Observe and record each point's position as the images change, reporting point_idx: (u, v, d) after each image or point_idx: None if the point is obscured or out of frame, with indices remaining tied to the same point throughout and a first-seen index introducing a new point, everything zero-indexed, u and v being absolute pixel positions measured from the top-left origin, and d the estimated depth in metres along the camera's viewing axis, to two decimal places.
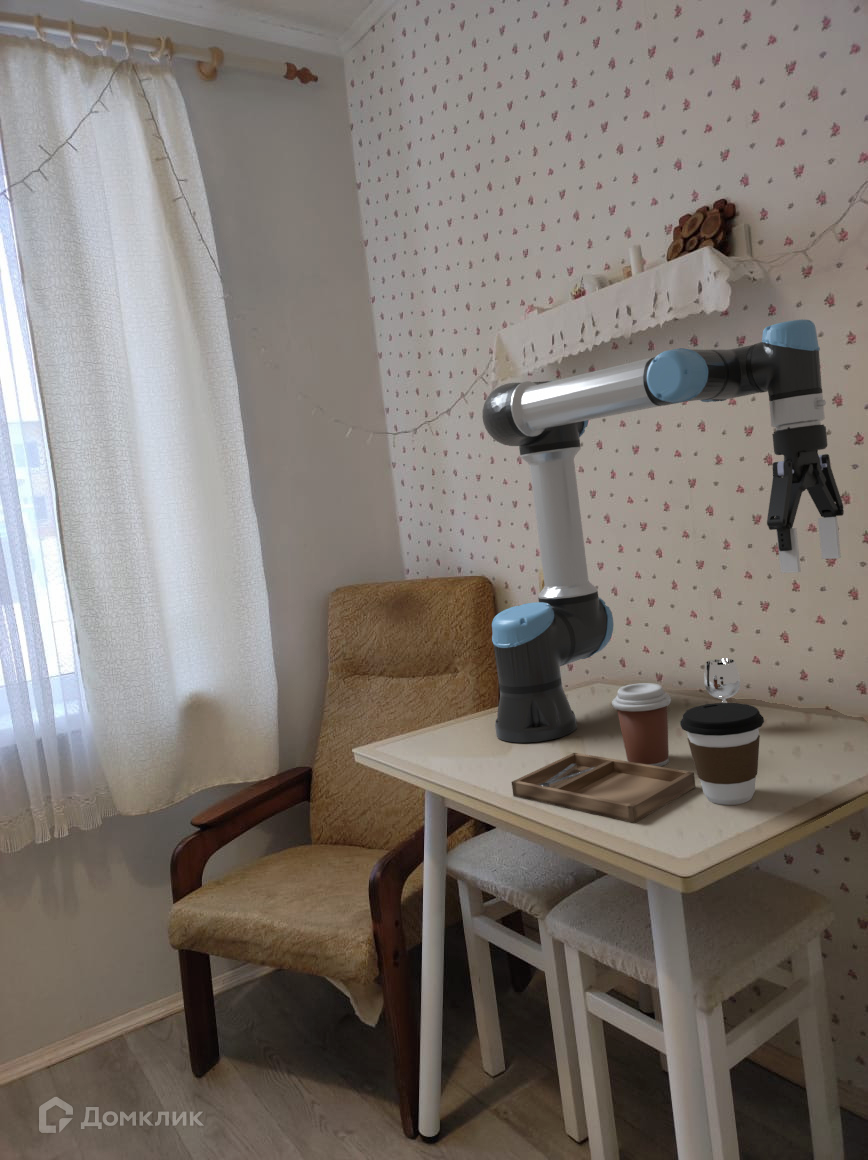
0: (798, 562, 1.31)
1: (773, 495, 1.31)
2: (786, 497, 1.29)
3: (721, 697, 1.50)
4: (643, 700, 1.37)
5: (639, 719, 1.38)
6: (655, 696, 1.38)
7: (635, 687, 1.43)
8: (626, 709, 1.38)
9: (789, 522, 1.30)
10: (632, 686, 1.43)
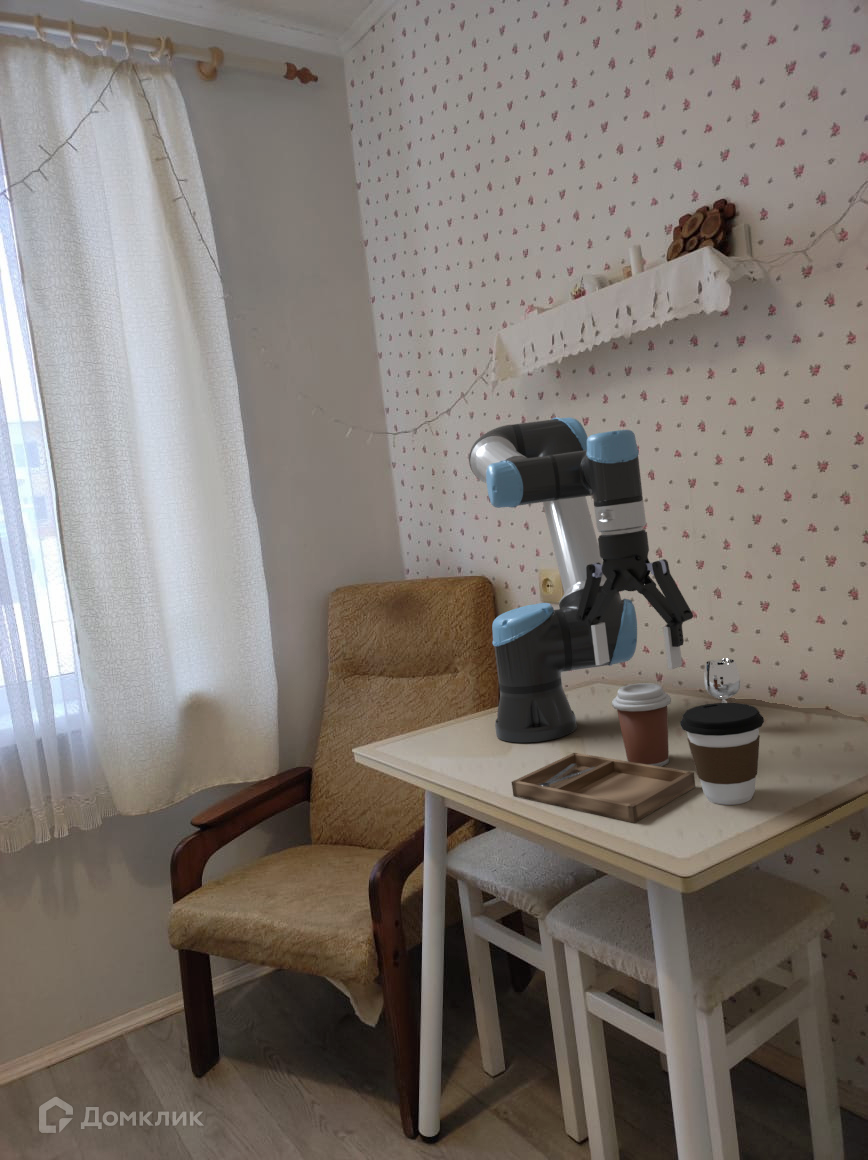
0: (596, 656, 1.44)
1: None
2: (582, 597, 1.45)
3: (721, 697, 1.50)
4: (643, 700, 1.37)
5: (639, 719, 1.38)
6: (655, 696, 1.38)
7: (635, 687, 1.43)
8: (626, 709, 1.38)
9: (586, 619, 1.45)
10: (632, 686, 1.43)
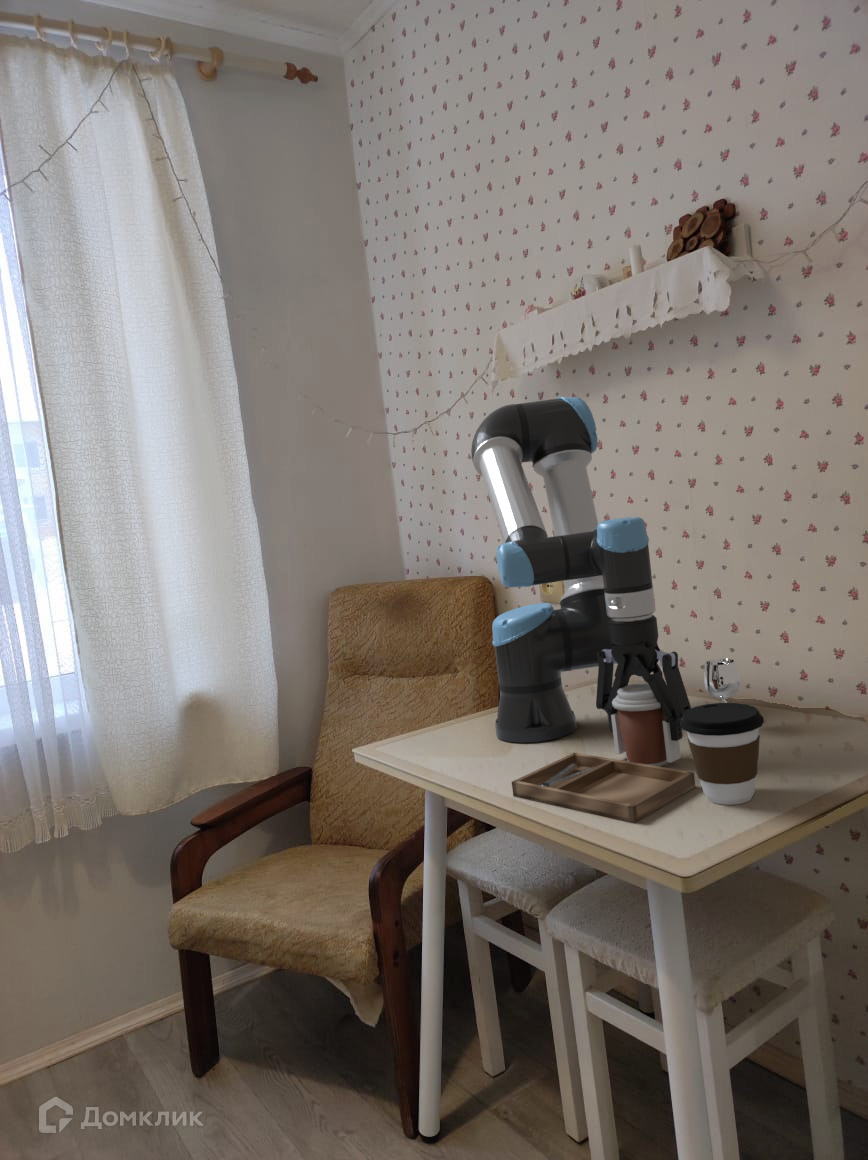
0: (616, 745, 1.45)
1: None
2: (598, 684, 1.45)
3: (721, 697, 1.50)
4: (643, 700, 1.37)
5: (639, 719, 1.38)
6: None
7: (635, 687, 1.43)
8: (626, 709, 1.38)
9: (606, 708, 1.45)
10: (632, 686, 1.43)
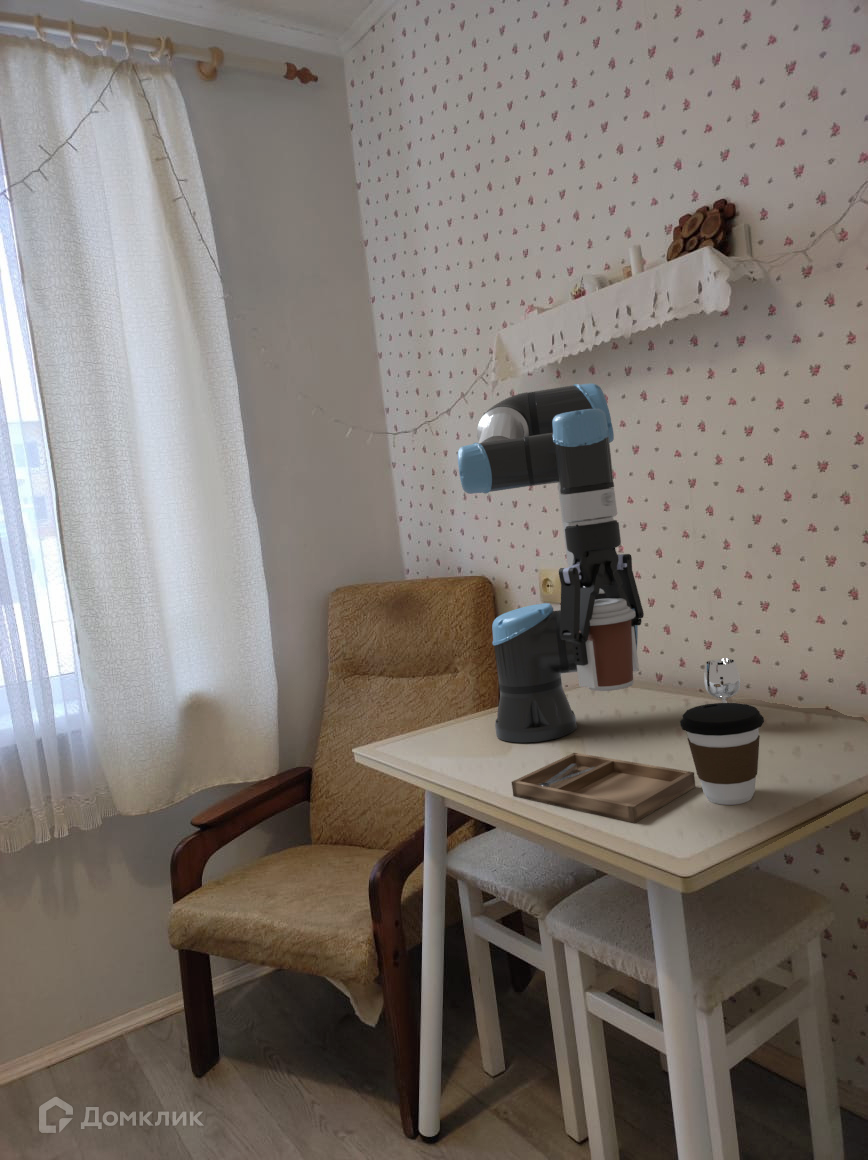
0: (595, 677, 1.23)
1: (563, 606, 1.22)
2: (574, 609, 1.20)
3: (721, 697, 1.50)
4: (627, 606, 1.26)
5: (630, 627, 1.25)
6: None
7: None
8: (630, 617, 1.23)
9: (583, 636, 1.22)
10: None
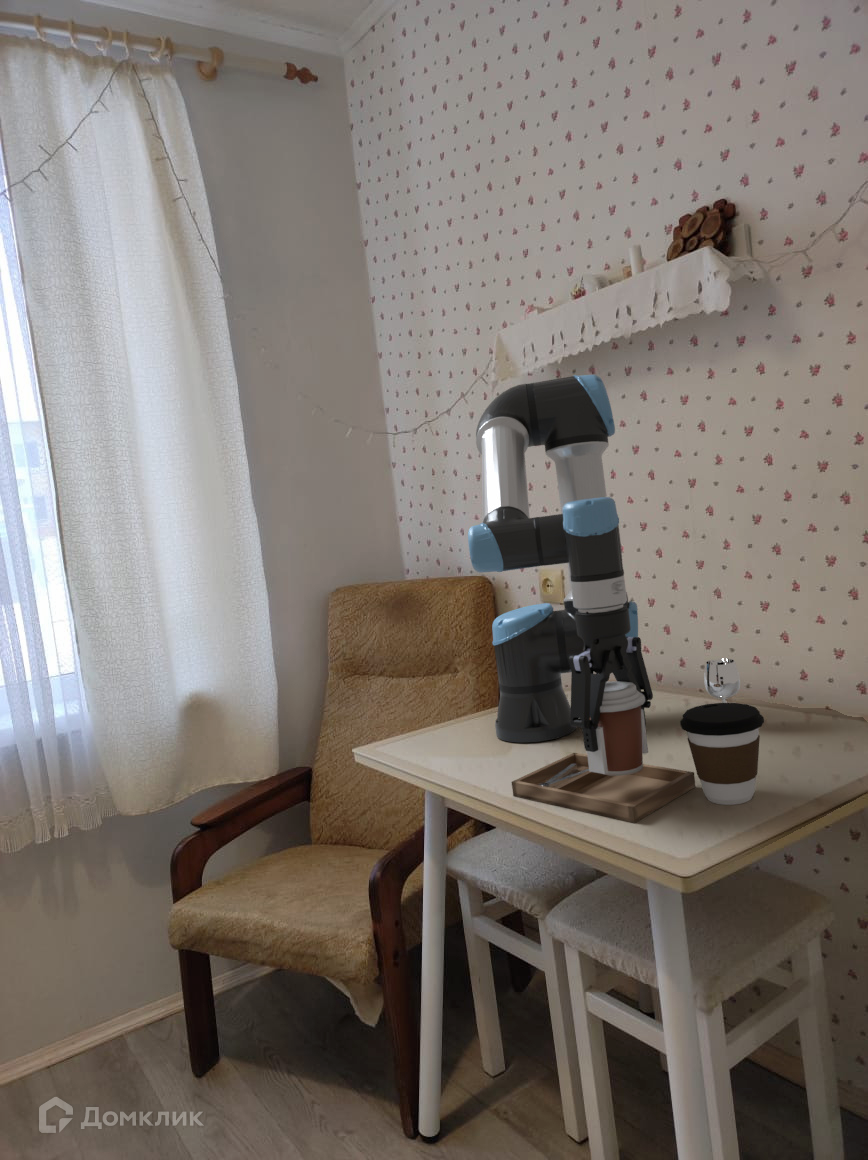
0: (605, 763, 1.24)
1: (573, 693, 1.23)
2: (585, 698, 1.22)
3: (721, 697, 1.50)
4: (637, 691, 1.27)
5: (640, 712, 1.26)
6: None
7: None
8: (640, 703, 1.24)
9: (593, 723, 1.23)
10: None
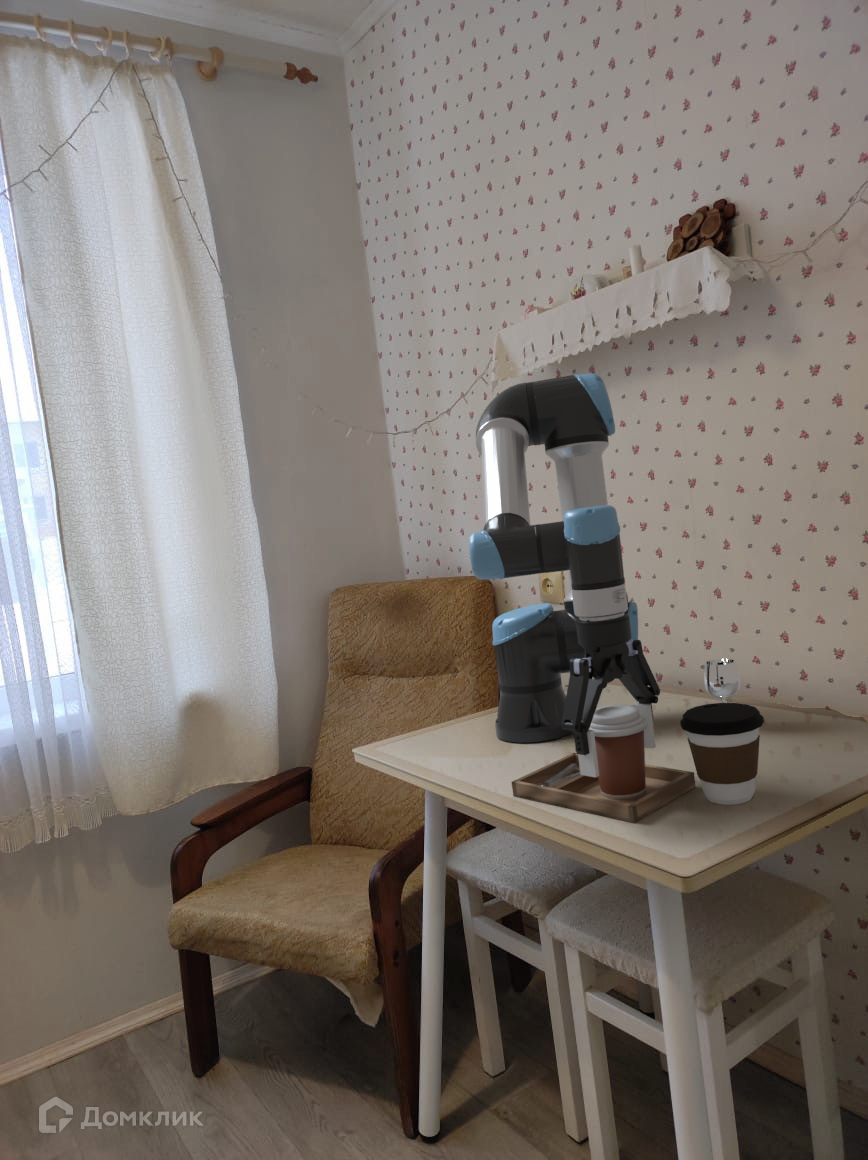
0: (596, 766, 1.23)
1: (568, 695, 1.22)
2: (580, 700, 1.21)
3: (721, 697, 1.50)
4: (640, 715, 1.27)
5: (643, 737, 1.27)
6: None
7: (600, 715, 1.28)
8: (642, 729, 1.25)
9: (584, 726, 1.21)
10: None
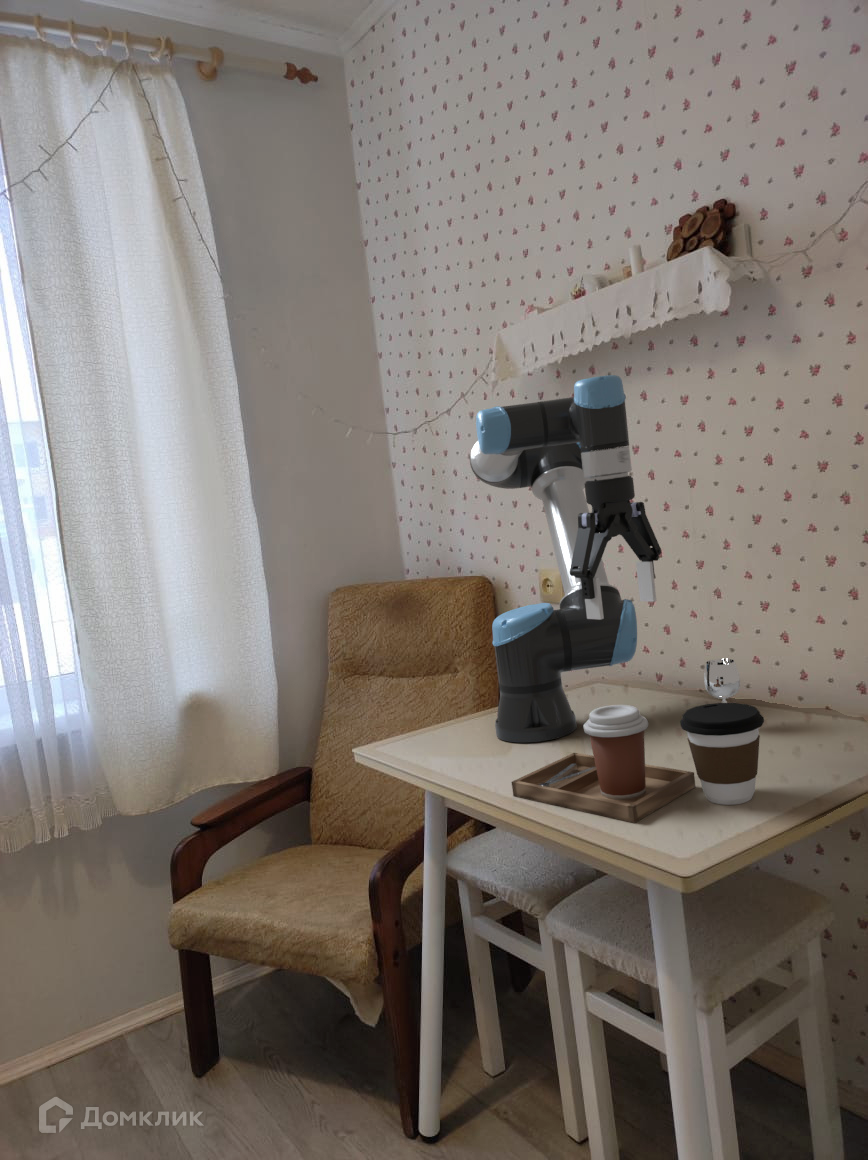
0: (601, 610, 1.37)
1: (577, 546, 1.36)
2: (586, 549, 1.35)
3: (721, 697, 1.50)
4: (640, 715, 1.27)
5: (643, 737, 1.27)
6: None
7: (600, 715, 1.28)
8: (642, 729, 1.25)
9: (590, 572, 1.36)
10: None
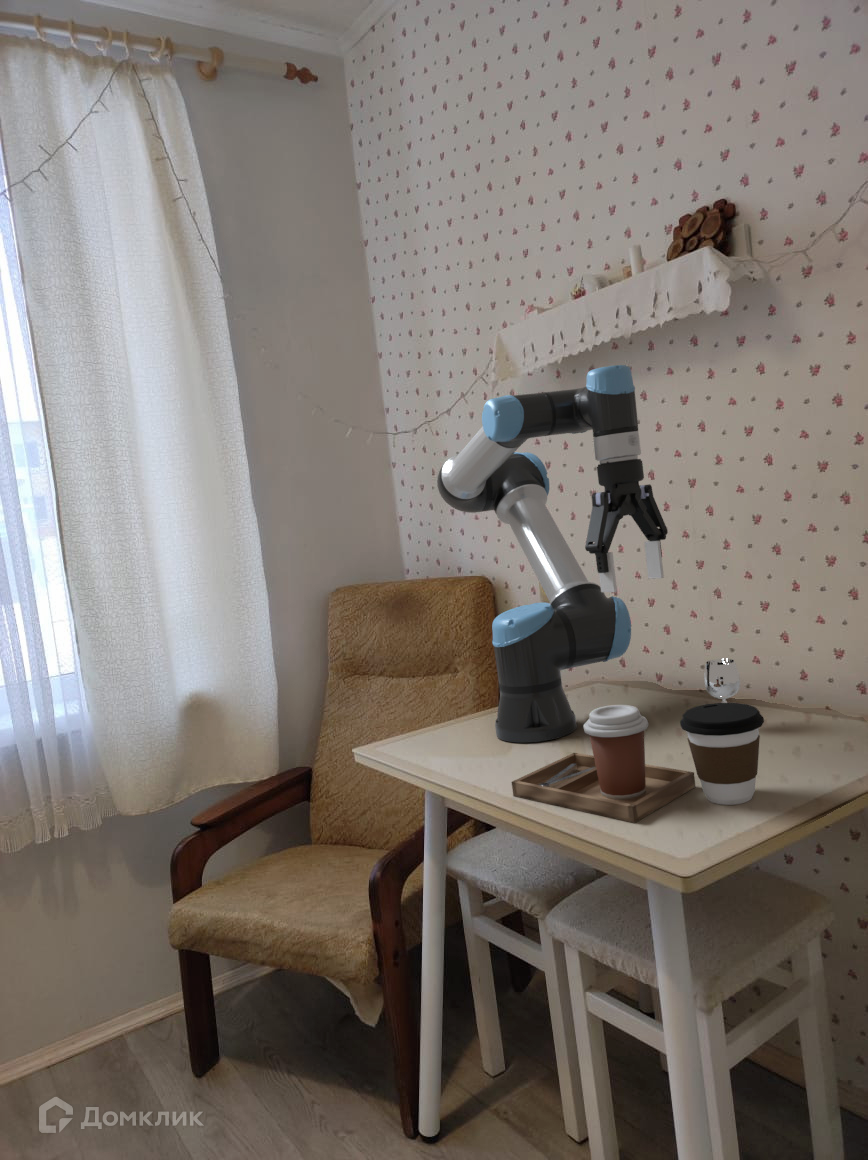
0: (614, 583, 1.46)
1: (591, 523, 1.46)
2: (601, 525, 1.44)
3: (721, 697, 1.50)
4: (640, 715, 1.27)
5: (643, 737, 1.27)
6: None
7: (600, 715, 1.28)
8: (642, 729, 1.25)
9: (604, 547, 1.45)
10: None
